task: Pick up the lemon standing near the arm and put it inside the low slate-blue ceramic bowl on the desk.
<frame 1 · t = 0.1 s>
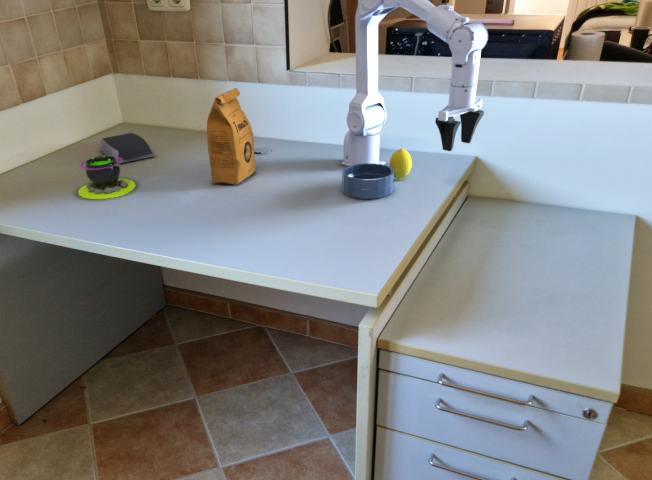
hand: (456, 146, 141), 10 cm above the table, tool pointing down, fingers open, 7 cm apart
hard drive: (126, 154, 185), on the table
bowl: (367, 191, 148), on the table
coffee package: (235, 179, 161), on the table
toy cauldron: (107, 189, 159), on the table
lemon: (399, 180, 153), on the table
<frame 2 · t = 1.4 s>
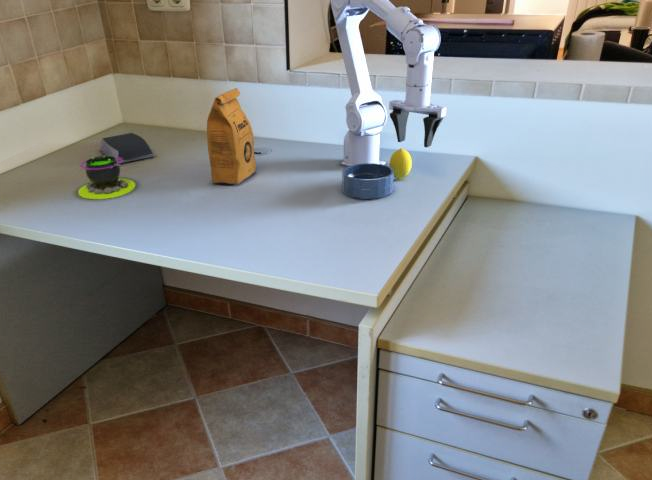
hand: (414, 143, 146), 10 cm above the table, tool pointing down, fingers open, 7 cm apart
nothing on the table moved.
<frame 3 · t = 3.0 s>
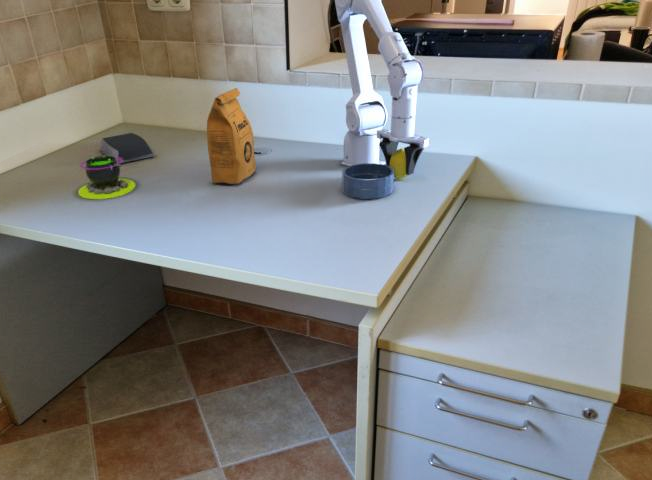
hand: (400, 171, 152), 2 cm above the table, tool pointing down, fingers closed on lemon, 5 cm apart
lemon: (399, 180, 153), on the table, touching gripper
everything else where it was.
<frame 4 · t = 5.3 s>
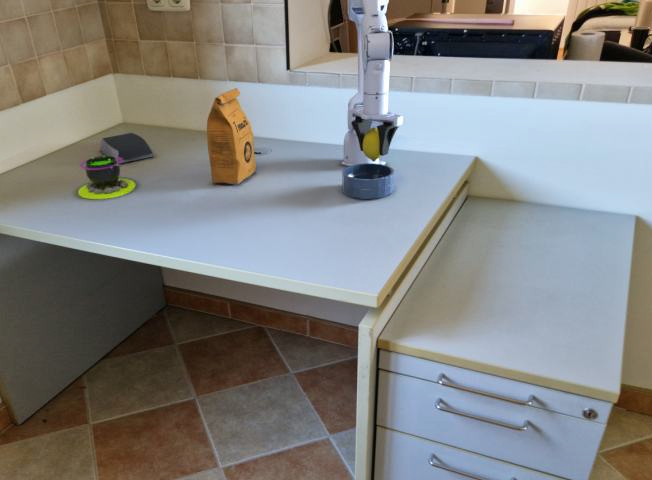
hand: (373, 152, 143), 9 cm above the table, tool pointing down, fingers closed on lemon, 5 cm apart
lemon: (373, 162, 145), point 7 cm above the table, touching gripper
everything else where it was.
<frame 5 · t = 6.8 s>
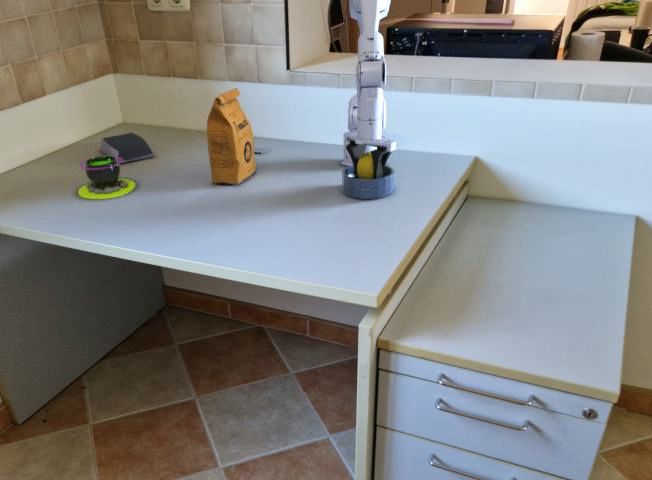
hand: (368, 175, 145), 4 cm above the table, tool pointing down, fingers closed on lemon, 5 cm apart
lemon: (367, 185, 147), point 2 cm above the table, touching gripper
everything else where it was.
when the fingers open (3 cm above the table, at t = 7.7 s): lemon stays where it is, resting on bowl.
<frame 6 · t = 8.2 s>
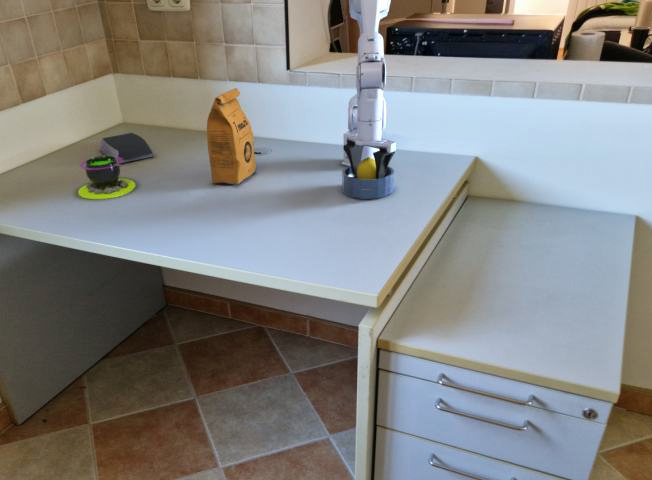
hand: (368, 176, 146), 4 cm above the table, tool pointing down, fingers open, 7 cm apart
lemon: (367, 190, 147), resting on bowl
everything else where it was.
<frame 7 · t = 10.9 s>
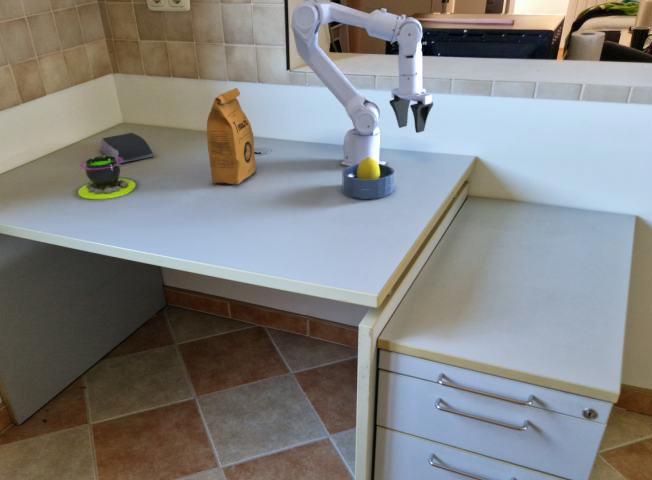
hand: (411, 129, 156), 10 cm above the table, tool pointing down, fingers open, 7 cm apart
nothing on the table moved.
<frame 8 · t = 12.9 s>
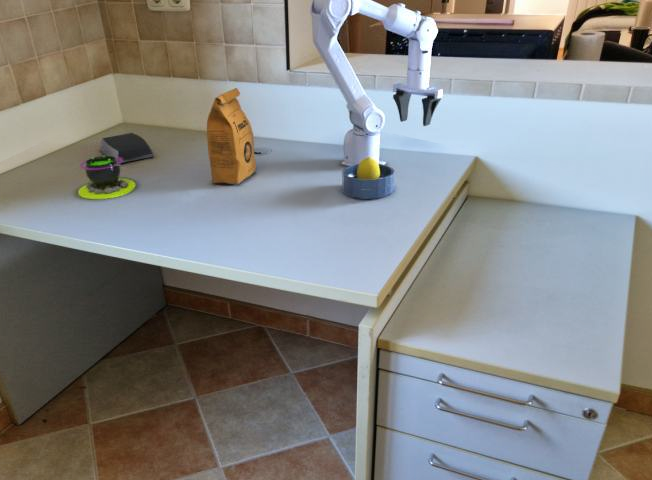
hand: (414, 122, 162), 9 cm above the table, tool pointing down, fingers open, 7 cm apart
nothing on the table moved.
at the end: lemon inside the target area in the bowl (0.0 cm from its centre), point 0.3 cm above the bowl's base; the gripper is holding nothing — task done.
